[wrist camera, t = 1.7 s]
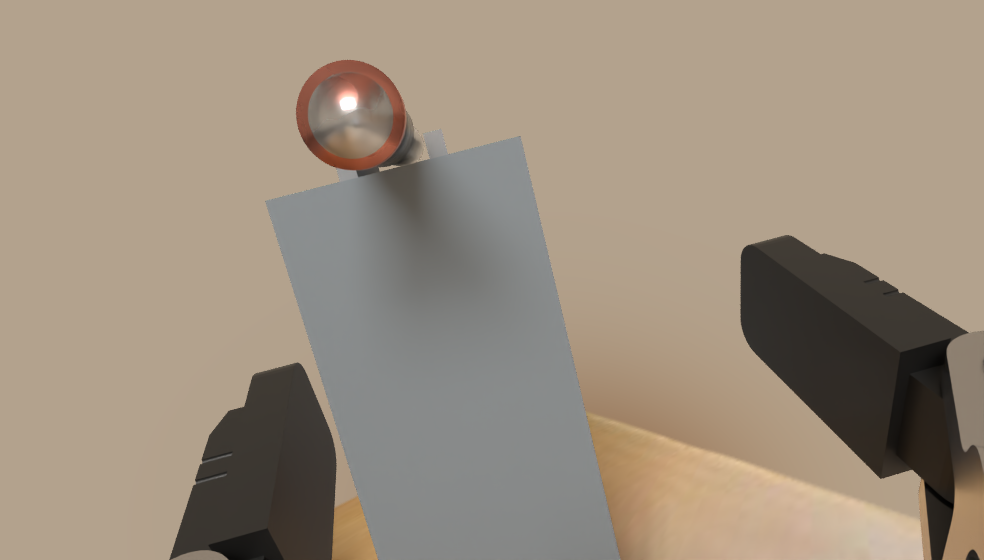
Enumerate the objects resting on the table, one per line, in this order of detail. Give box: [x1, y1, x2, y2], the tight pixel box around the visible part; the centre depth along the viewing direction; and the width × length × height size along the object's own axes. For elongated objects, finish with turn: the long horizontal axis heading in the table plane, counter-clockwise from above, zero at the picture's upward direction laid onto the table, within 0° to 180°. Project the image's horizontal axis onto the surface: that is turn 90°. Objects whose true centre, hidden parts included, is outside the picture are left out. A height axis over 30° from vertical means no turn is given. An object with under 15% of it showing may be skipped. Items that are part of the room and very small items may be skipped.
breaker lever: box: [296, 60, 424, 170], centre depth 35 cm, size 25×4×4 cm, turn 4°
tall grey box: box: [265, 129, 620, 560], centre depth 42 cm, size 12×14×33 cm
